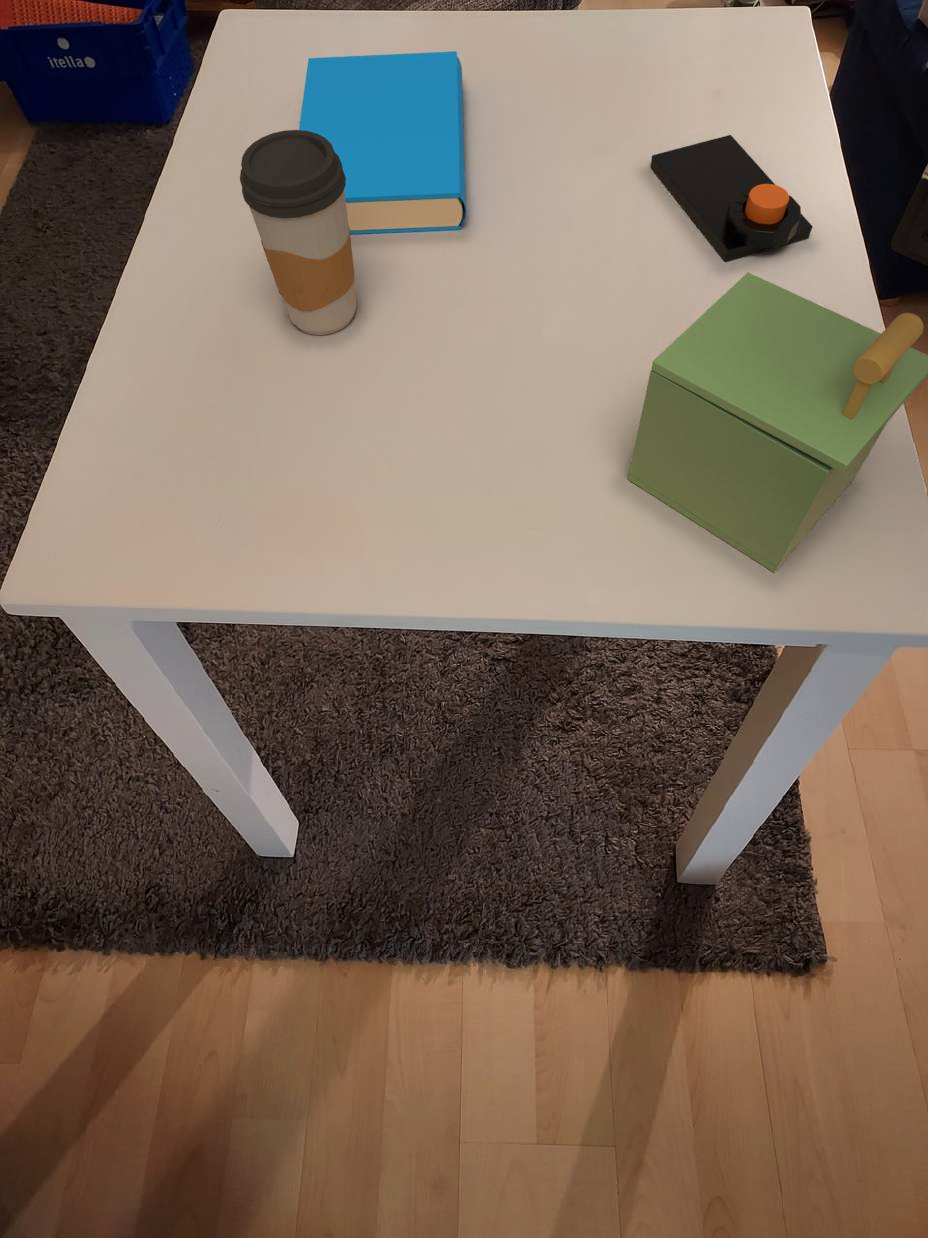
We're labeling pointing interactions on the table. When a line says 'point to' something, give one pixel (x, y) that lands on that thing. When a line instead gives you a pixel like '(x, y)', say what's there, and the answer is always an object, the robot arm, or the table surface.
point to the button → (766, 204)
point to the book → (393, 137)
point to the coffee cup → (303, 226)
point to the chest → (732, 473)
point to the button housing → (725, 197)
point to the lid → (798, 368)
